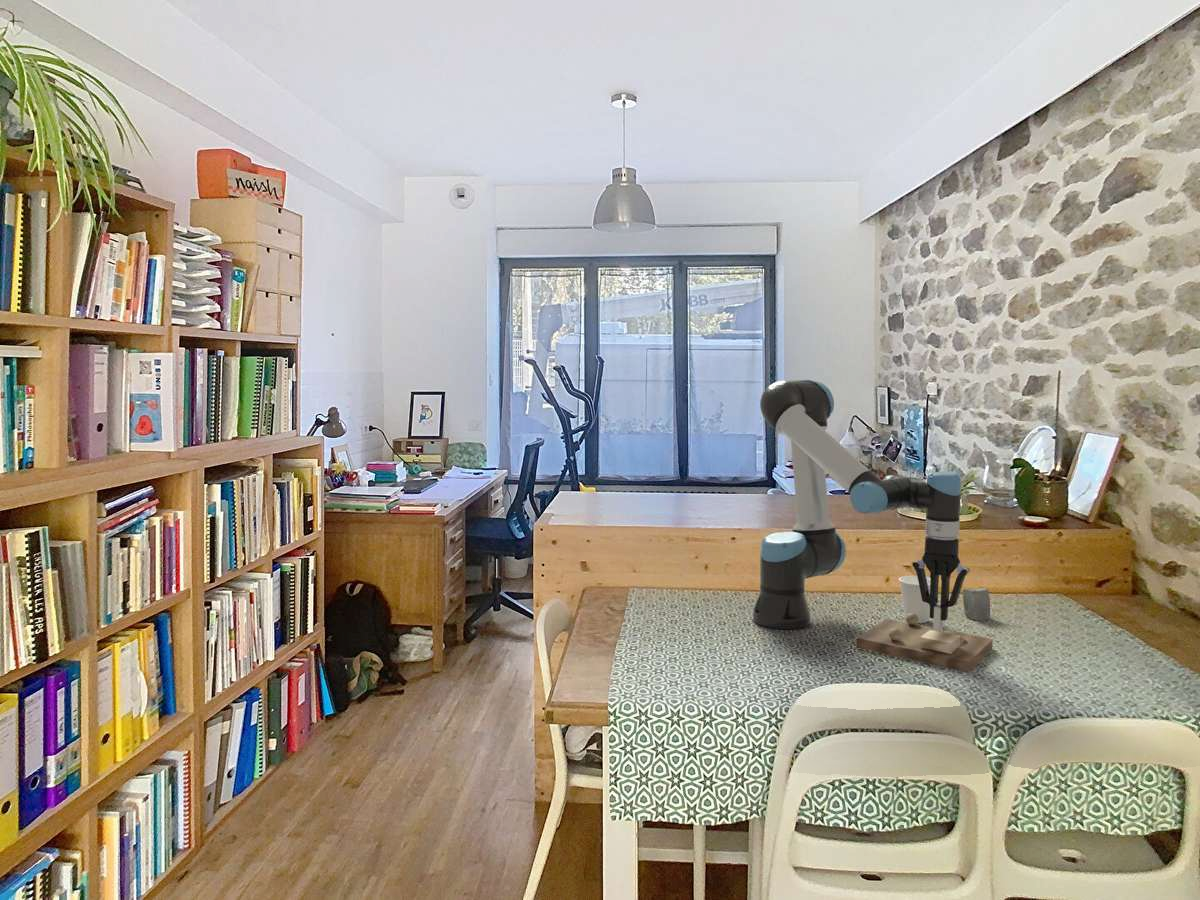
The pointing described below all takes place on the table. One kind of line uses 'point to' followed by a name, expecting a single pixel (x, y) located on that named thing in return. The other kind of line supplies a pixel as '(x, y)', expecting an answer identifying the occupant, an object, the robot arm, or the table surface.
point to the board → (909, 648)
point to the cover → (940, 641)
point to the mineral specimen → (976, 603)
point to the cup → (914, 598)
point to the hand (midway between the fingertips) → (937, 632)
